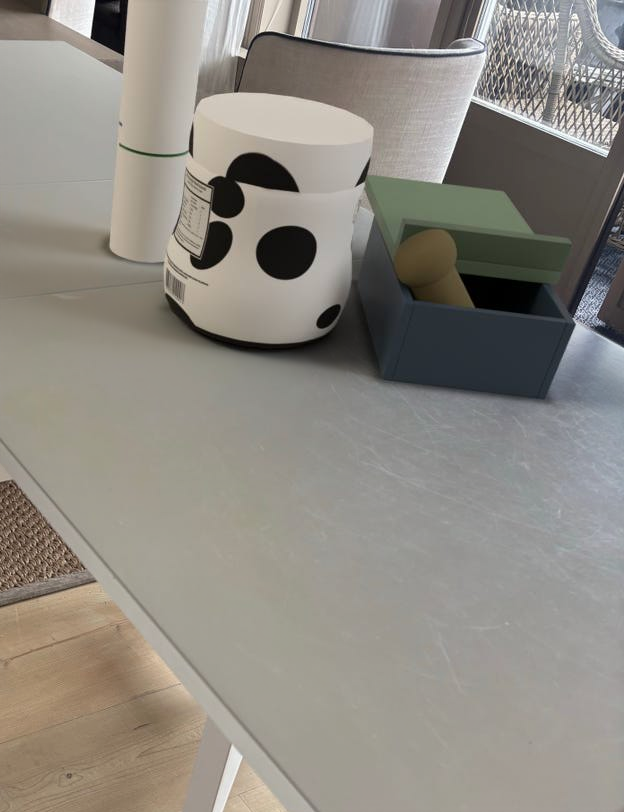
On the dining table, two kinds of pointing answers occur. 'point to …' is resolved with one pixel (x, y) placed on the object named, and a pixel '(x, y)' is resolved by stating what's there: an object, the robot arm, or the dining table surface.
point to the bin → (464, 330)
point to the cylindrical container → (155, 123)
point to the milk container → (267, 219)
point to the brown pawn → (431, 269)
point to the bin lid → (467, 228)
